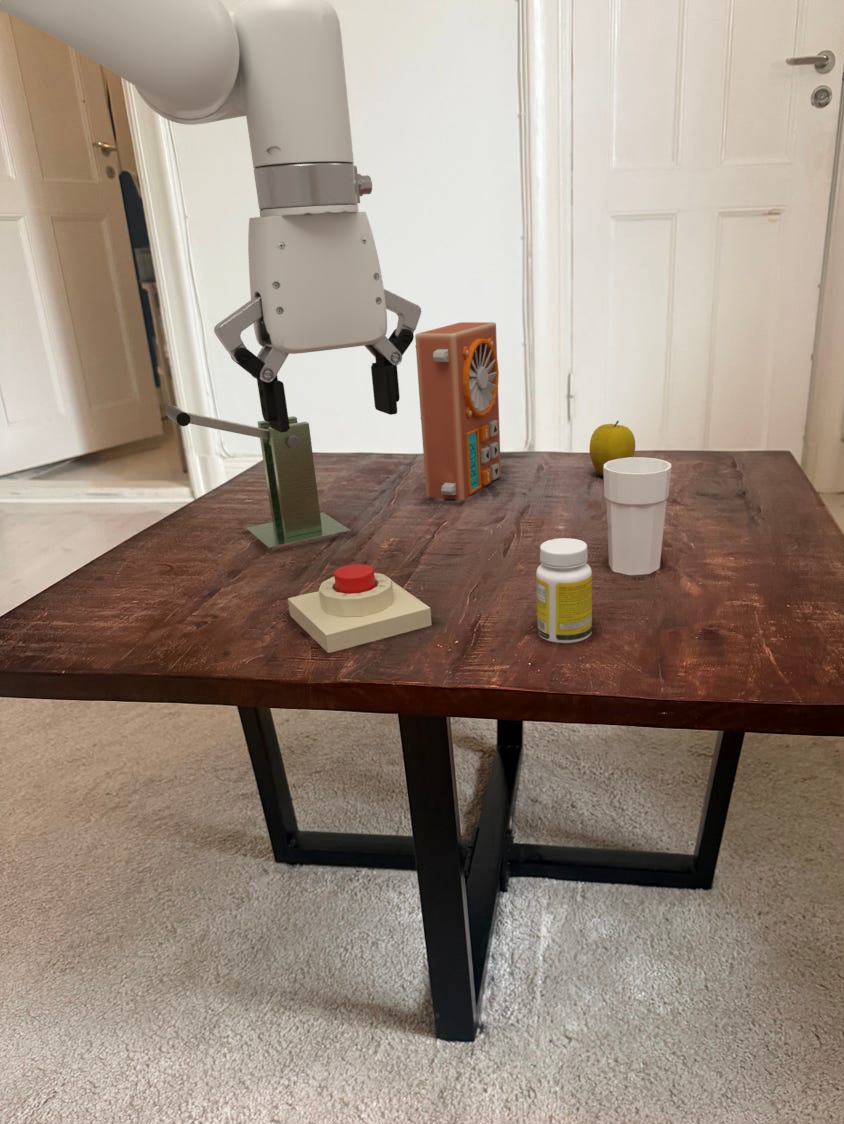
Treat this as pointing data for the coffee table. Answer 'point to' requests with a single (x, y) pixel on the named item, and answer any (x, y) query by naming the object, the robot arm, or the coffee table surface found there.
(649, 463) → the cup
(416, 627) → the button block
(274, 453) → the bracket
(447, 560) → the coffee table surface
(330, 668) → the coffee table surface
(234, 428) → the lever
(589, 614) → the supplement bottle
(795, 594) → the coffee table surface
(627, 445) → the apple
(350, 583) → the button
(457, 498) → the control panel
